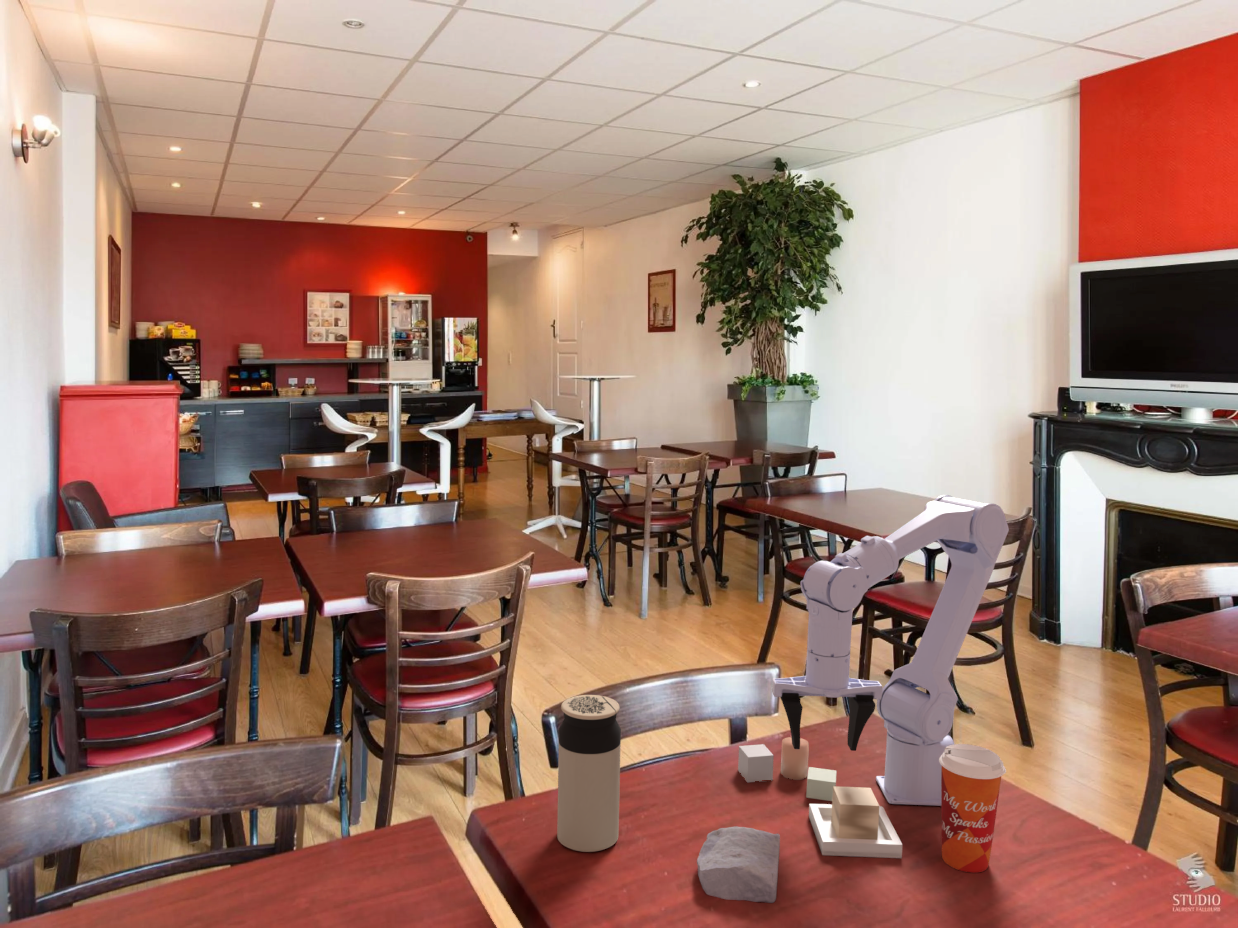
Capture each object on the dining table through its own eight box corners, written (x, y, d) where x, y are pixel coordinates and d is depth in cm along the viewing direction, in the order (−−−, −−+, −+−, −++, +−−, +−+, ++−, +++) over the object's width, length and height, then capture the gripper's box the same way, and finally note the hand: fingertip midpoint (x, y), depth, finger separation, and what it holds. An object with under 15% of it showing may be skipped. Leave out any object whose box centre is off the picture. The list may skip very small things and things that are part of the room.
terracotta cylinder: (804, 768, 141) (806, 737, 140) (809, 780, 137) (811, 748, 136) (778, 767, 141) (780, 736, 140) (782, 779, 137) (784, 747, 136)
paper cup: (932, 869, 113) (939, 761, 111) (933, 839, 120) (940, 737, 119) (1000, 883, 110) (1008, 773, 109) (997, 851, 118) (1005, 747, 116)
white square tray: (881, 818, 125) (882, 806, 125) (901, 857, 116) (902, 844, 115) (808, 815, 126) (809, 803, 126) (822, 854, 116) (823, 841, 116)
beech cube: (868, 822, 123) (870, 787, 122) (877, 842, 118) (879, 805, 117) (831, 821, 123) (833, 786, 123) (838, 840, 118) (840, 804, 118)
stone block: (697, 911, 107) (783, 906, 105) (691, 872, 106) (776, 866, 104) (707, 861, 118) (784, 855, 116) (701, 825, 118) (778, 819, 116)
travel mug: (561, 856, 114) (564, 718, 112) (553, 824, 122) (555, 695, 120) (624, 851, 116) (627, 714, 114) (611, 820, 123) (614, 691, 121)
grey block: (762, 768, 140) (763, 743, 140) (772, 780, 136) (773, 755, 136) (738, 770, 139) (738, 745, 139) (747, 782, 136) (748, 757, 135)
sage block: (835, 789, 134) (836, 770, 134) (834, 802, 130) (835, 782, 130) (807, 785, 135) (808, 766, 135) (806, 798, 131) (807, 778, 131)
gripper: (779, 658, 119) (775, 757, 121) (890, 661, 119) (884, 760, 121) (771, 642, 126) (767, 736, 128) (876, 644, 126) (870, 738, 128)
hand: (823, 746), depth 125 cm, fingers open, 7 cm apart
